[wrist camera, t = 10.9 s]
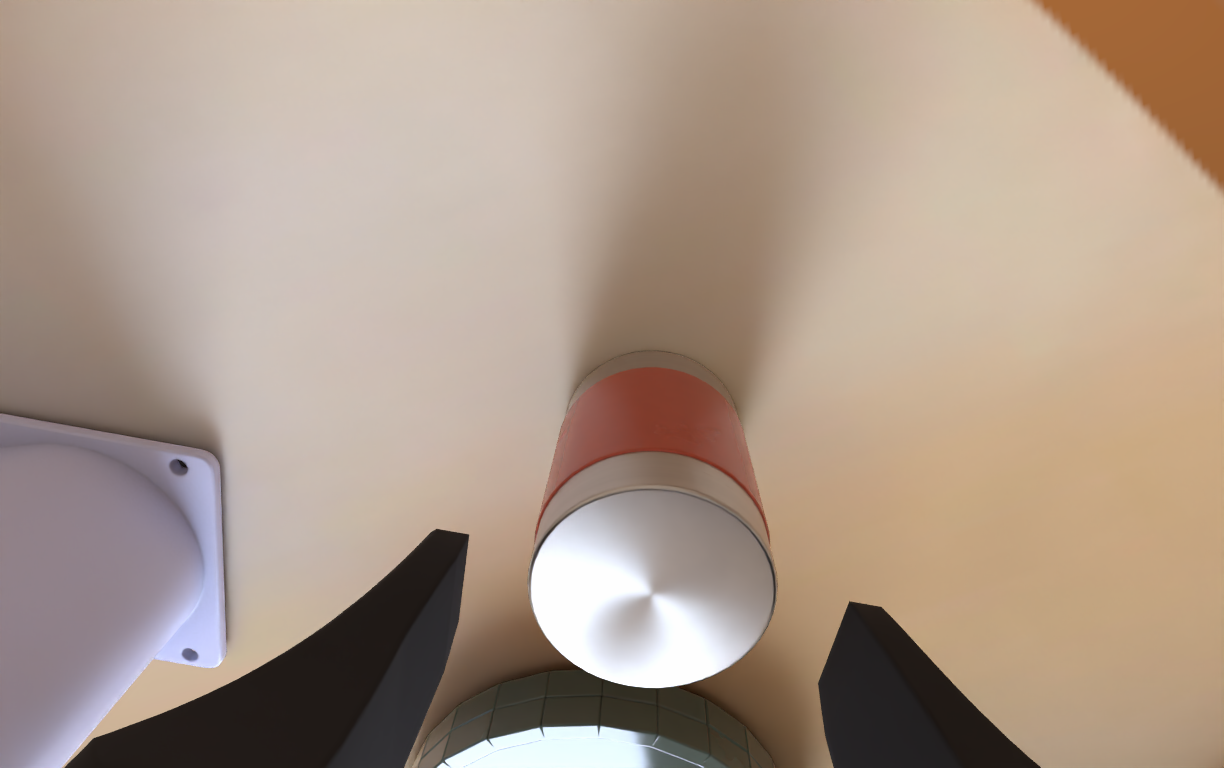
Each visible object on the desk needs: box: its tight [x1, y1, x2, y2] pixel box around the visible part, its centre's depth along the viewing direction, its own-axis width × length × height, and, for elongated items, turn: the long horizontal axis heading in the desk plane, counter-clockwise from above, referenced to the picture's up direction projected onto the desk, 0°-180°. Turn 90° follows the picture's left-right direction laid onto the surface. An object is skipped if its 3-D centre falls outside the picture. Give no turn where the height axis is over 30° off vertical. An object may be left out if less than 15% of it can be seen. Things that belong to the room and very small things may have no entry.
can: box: [527, 351, 778, 688], centre depth 17 cm, size 5×5×7 cm
